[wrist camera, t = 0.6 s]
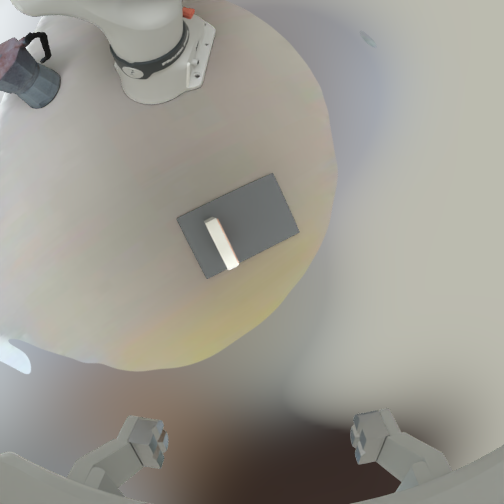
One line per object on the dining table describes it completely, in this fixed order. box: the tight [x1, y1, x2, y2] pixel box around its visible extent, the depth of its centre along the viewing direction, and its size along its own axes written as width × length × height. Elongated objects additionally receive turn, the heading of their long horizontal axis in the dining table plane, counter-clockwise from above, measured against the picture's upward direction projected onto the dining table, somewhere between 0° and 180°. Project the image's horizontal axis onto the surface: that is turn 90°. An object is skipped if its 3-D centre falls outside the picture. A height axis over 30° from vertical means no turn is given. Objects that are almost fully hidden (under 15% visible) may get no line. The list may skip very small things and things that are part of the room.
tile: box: [204, 217, 239, 271], centre depth 45 cm, size 2×7×13 cm, turn 25°
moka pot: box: [0, 32, 60, 108], centre depth 31 cm, size 10×15×20 cm, turn 119°
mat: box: [177, 173, 299, 279], centre depth 52 cm, size 19×12×1 cm, turn 115°
